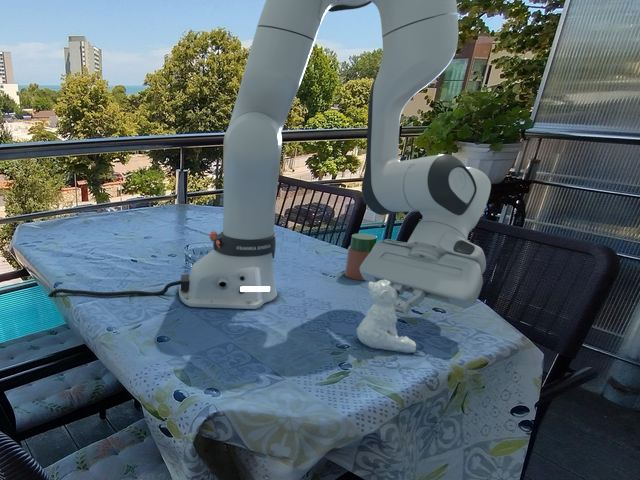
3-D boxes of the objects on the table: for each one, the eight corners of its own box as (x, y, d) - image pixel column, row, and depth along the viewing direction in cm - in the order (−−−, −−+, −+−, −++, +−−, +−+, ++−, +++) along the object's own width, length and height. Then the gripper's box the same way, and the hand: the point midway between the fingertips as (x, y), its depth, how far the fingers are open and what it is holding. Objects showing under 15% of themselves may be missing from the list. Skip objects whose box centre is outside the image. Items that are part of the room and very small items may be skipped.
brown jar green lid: (351, 280, 112) (356, 240, 108) (340, 271, 118) (345, 233, 114) (377, 279, 113) (383, 239, 109) (365, 270, 118) (371, 232, 115)
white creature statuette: (418, 354, 80) (432, 289, 75) (369, 357, 79) (380, 292, 75) (389, 329, 88) (399, 270, 84) (345, 332, 88) (353, 272, 83)
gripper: (375, 228, 92) (341, 286, 90) (493, 251, 77) (455, 321, 75) (383, 245, 96) (350, 301, 95) (496, 270, 81) (460, 337, 80)
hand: (398, 310), depth 85 cm, fingers closed
